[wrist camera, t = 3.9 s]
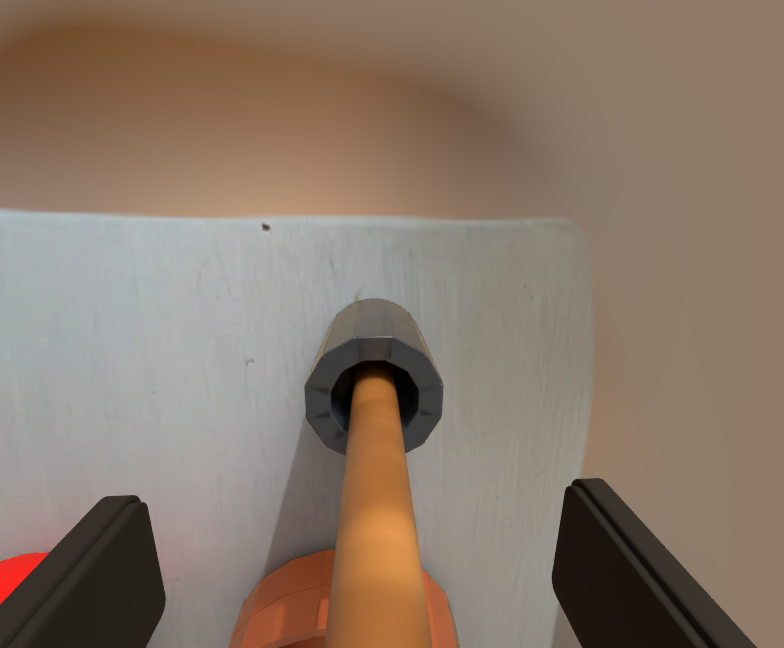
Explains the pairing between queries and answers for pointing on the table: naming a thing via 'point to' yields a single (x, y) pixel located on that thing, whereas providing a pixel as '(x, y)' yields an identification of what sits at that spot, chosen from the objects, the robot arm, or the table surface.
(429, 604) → the terracotta dish
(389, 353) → the utensil holder
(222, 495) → the table surface
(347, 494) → the stick
